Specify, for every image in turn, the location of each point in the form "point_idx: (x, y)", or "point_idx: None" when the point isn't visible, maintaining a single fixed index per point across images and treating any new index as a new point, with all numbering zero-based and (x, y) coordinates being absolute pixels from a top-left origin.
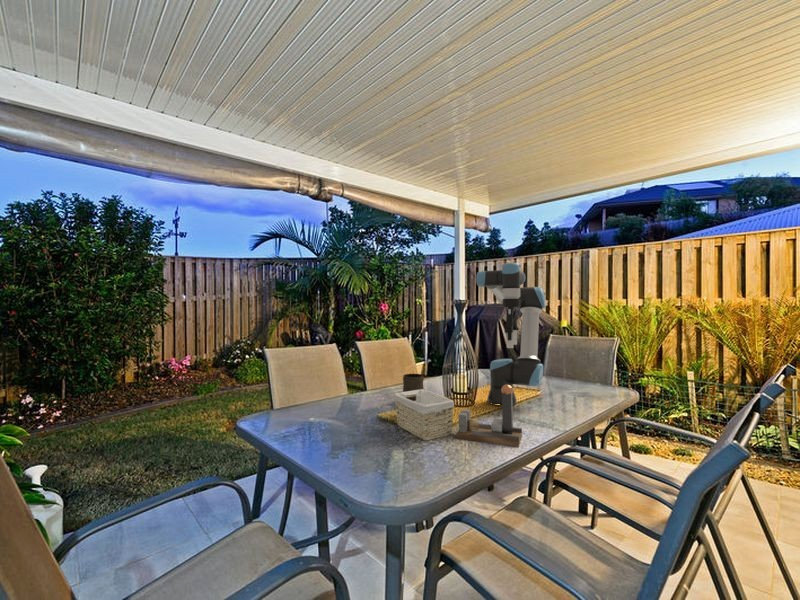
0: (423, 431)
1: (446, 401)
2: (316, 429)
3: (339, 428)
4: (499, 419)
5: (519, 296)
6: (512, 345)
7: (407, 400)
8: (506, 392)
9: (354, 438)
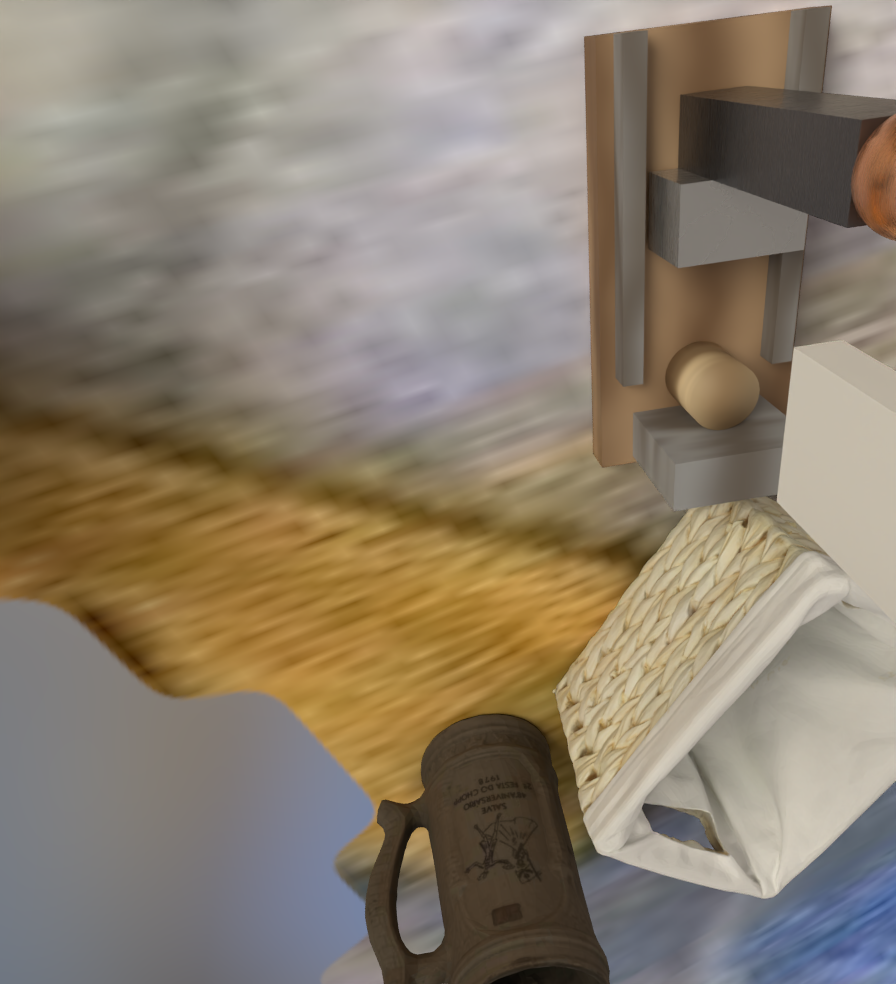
0: None
1: (815, 616)
2: (827, 917)
3: None
4: (687, 222)
5: None
6: (885, 384)
7: (886, 787)
8: None
9: None
